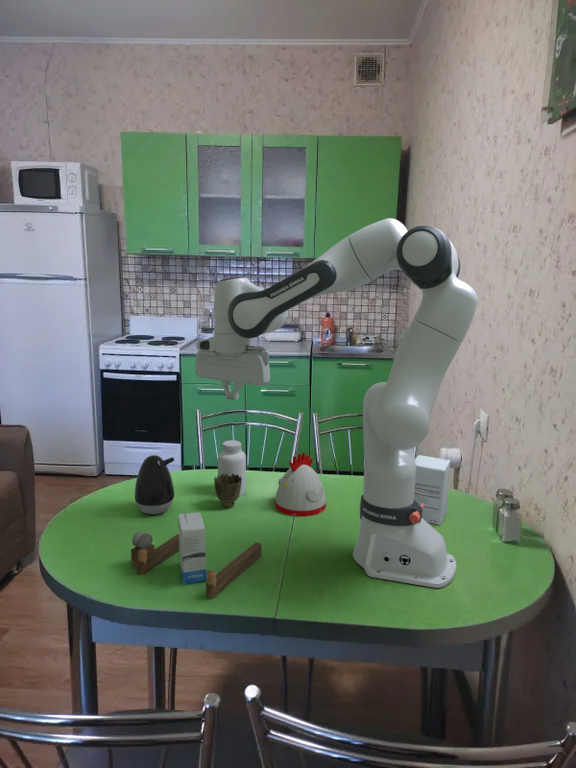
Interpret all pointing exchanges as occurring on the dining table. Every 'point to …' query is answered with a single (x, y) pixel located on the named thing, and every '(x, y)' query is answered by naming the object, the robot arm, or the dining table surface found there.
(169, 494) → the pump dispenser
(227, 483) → the cup
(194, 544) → the ink box
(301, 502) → the kitchen timer
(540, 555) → the dining table surface
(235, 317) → the robot arm
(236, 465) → the pill bottle
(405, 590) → the dining table surface
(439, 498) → the supplement box
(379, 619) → the dining table surface
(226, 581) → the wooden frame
